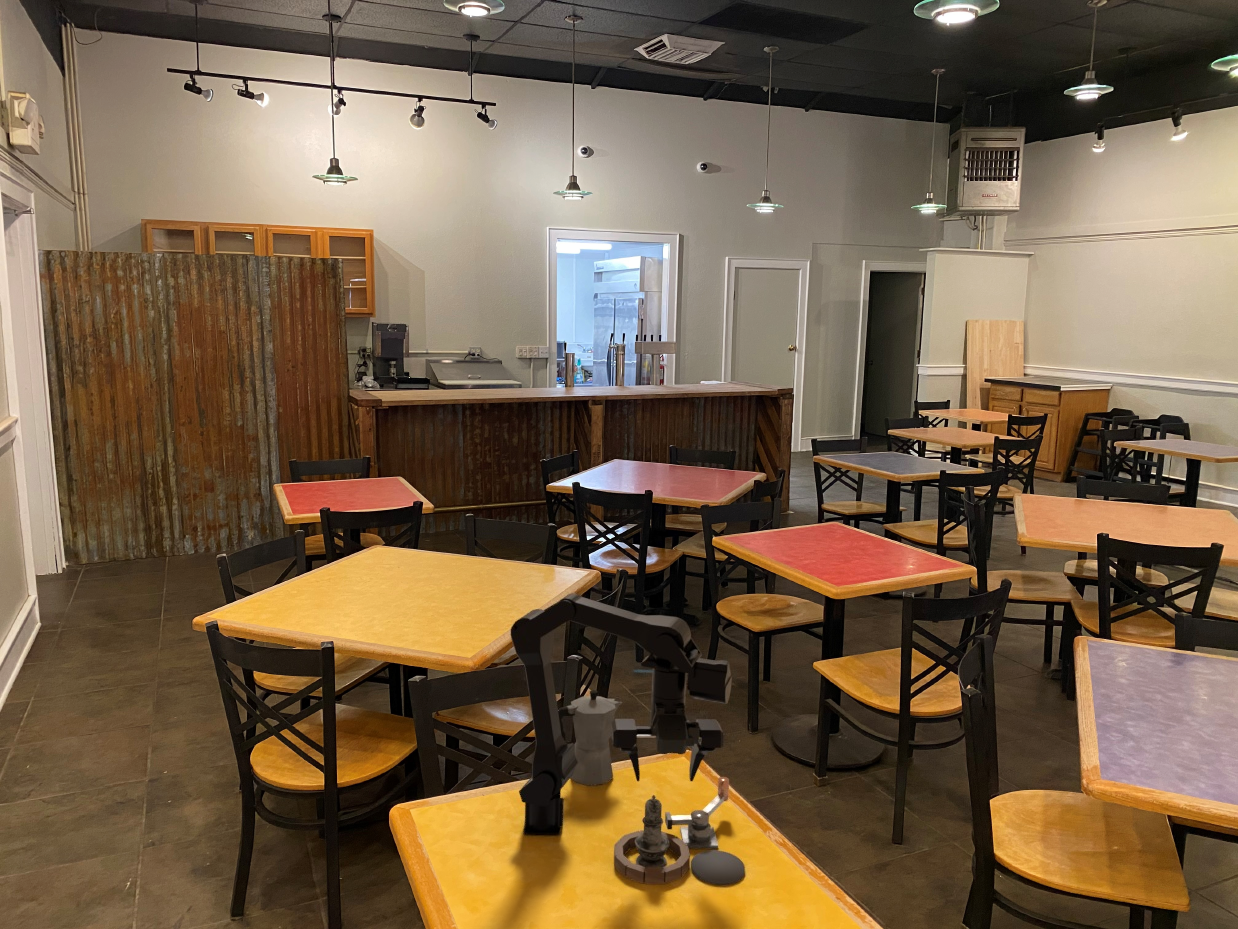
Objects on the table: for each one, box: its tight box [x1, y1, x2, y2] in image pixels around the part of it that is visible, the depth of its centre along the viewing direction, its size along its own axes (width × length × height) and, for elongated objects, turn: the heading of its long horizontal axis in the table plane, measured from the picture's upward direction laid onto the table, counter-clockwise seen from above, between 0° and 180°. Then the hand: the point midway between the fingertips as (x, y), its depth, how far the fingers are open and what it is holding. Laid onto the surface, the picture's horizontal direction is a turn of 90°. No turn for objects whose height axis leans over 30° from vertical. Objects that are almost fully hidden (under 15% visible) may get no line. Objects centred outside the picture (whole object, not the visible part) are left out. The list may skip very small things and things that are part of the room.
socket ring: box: [613, 829, 691, 885], centre depth 147 cm, size 13×13×2 cm
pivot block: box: [679, 823, 719, 850], centre depth 154 cm, size 6×6×2 cm
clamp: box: [664, 776, 730, 830], centre depth 157 cm, size 7×16×4 cm, turn 149°
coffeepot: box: [558, 689, 623, 786], centre depth 175 cm, size 15×9×18 cm, turn 119°
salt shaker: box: [635, 794, 669, 867], centre depth 146 cm, size 6×6×12 cm
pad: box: [690, 849, 746, 886], centre depth 145 cm, size 9×9×1 cm
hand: (664, 780), depth 149 cm, fingers open, 9 cm apart
